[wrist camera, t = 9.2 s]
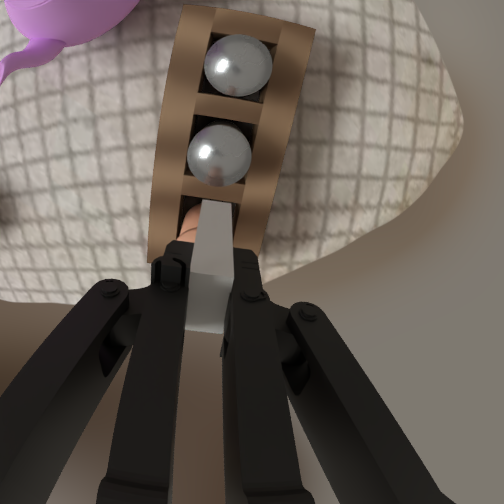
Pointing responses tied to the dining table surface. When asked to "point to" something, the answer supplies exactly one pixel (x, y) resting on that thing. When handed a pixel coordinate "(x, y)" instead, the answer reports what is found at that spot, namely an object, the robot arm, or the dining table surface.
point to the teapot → (58, 27)
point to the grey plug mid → (219, 154)
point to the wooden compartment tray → (209, 104)
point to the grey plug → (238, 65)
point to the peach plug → (190, 224)
